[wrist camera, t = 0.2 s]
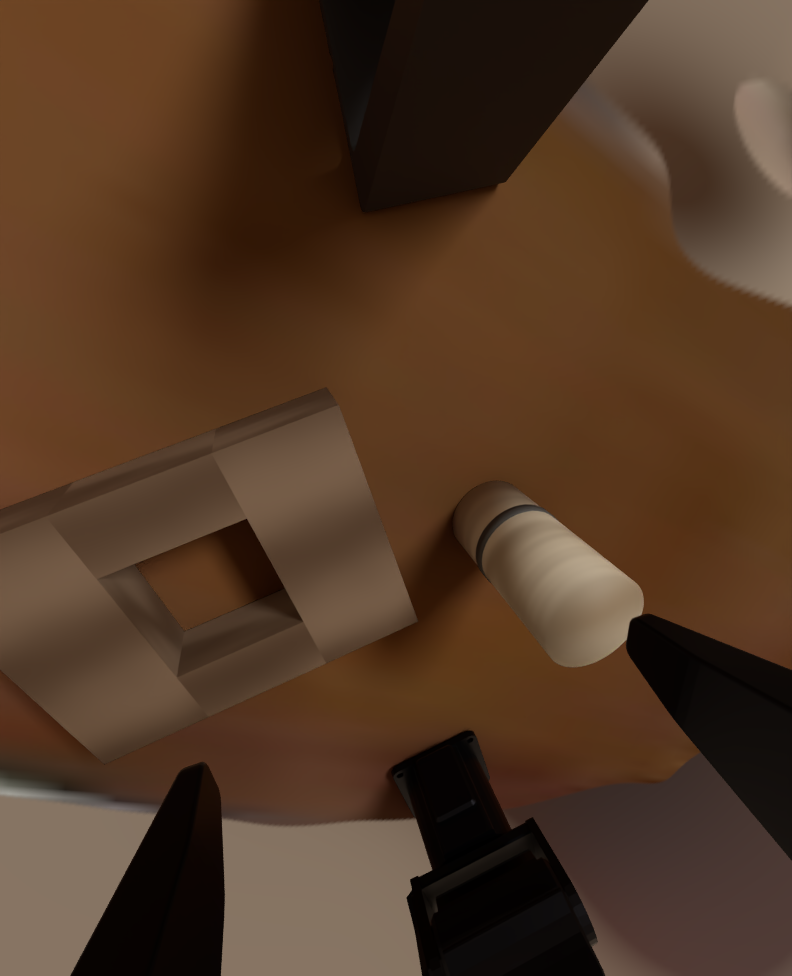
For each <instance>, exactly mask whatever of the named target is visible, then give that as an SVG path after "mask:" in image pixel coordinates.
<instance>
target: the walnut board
mask: <svg viewBox="0 0 792 976" xmlns="http://www.w3.org/2000/svg"><path fill="white" fill-rule="evenodd" d="M245 519H248V521H249V523H250V525H251V527H252V529H253V530H254V532H255V534H256V536H257V538H258V540H259V541H260V543H261V545H262V547H263V549H264V551H265V552H266V554H267V556H268V558H269V560H270V561H271V563H272V565H273V567H274V569H275V571H276V572H277V574H278V576H279V578H280V580H281V582H282V583H283V585H284V587H285V589H283V590H280V591H278V592H276V593H273V594H271V595H269V596H266V597H264V598H262V599H259V600H257V601H255V602H252V603H250V604H248V605H245V606H243V607H241V608H238V609H236V610H234V611H231V612H229V613H227V614H224V615H222V616H220V617H217V618H215V619H213V620H210V621H208V622H206V623H203V624H201V625H199V626H196V627H194V628H192V629H189V630H187V631H185V632H184V631H183V629H182V628H181V627H180V625H179V624H178V622H177V621H176V620H175V618H174V617H173V616H172V614H171V613H170V612H169V610H168V609H167V608H166V606H165V605H164V604H163V602H162V601H161V600H160V598H159V597H158V596H157V594H156V593H155V592H154V590H153V589H152V587H151V586H150V585H149V583H148V582H147V581H146V579H145V578H144V577H143V575H142V574H141V573H140V571H139V570H138V569H137V567H136V566H135V565H134V564H136V563H138V562H141V561H143V560H146V559H148V558H151V557H153V556H156V555H158V554H160V553H163V552H165V551H168V550H170V549H173V548H175V547H178V546H180V545H183V544H185V543H188V542H190V541H193V540H195V539H198V538H200V537H203V536H205V535H207V534H210V533H212V532H215V531H217V530H220V529H222V528H225V527H227V526H230V525H232V524H235V523H237V522H240V521H242V520H245ZM416 622H418V619H417V617H416V614H415V611H414V609H413V606H412V603H411V600H410V598H409V595H408V592H407V590H406V587H405V584H404V581H403V579H402V576H401V573H400V570H399V568H398V565H397V562H396V560H395V557H394V554H393V551H392V549H391V546H390V543H389V541H388V538H387V535H386V532H385V530H384V527H383V524H382V521H381V519H380V516H379V513H378V511H377V508H376V505H375V502H374V500H373V497H372V494H371V492H370V489H369V486H368V483H367V481H366V478H365V475H364V473H363V470H362V467H361V464H360V462H359V459H358V456H357V453H356V451H355V448H354V445H353V443H352V440H351V437H350V434H349V432H348V429H347V426H346V424H345V421H344V418H343V415H342V413H341V410H340V407H339V405H338V403H337V402H336V400H335V399H334V398H333V396H332V395H331V393H330V392H329V391H328V389H327V388H324V389H321V390H318V391H316V392H313V393H310V394H308V395H305V396H302V397H300V398H297V399H294V400H292V401H289V402H286V403H284V404H281V405H278V406H276V407H273V408H270V409H268V410H265V411H262V412H260V413H257V414H254V415H252V416H249V417H246V418H244V419H241V420H238V421H236V422H233V423H230V424H228V425H225V426H222V427H220V428H217V429H214V430H212V431H209V432H206V433H204V434H201V435H198V436H196V437H193V438H190V439H188V440H185V441H182V442H180V443H177V444H174V445H172V446H169V447H166V448H164V449H161V450H158V451H156V452H153V453H150V454H148V455H145V456H142V457H140V458H137V459H134V460H132V461H129V462H126V463H124V464H121V465H118V466H116V467H113V468H110V469H108V470H105V471H102V472H100V473H97V474H94V475H92V476H89V477H86V478H84V479H81V480H78V481H76V482H73V483H70V484H68V485H65V486H62V487H60V488H57V489H54V490H52V491H49V492H46V493H44V494H41V495H38V496H36V497H33V498H30V499H28V500H25V501H22V502H20V503H17V504H14V505H12V506H9V507H6V508H4V509H1V510H0V670H1V671H2V672H3V673H4V674H5V675H6V676H8V677H9V678H10V679H11V680H12V681H13V682H14V683H15V684H16V685H17V686H19V687H20V688H21V689H22V690H23V691H24V692H25V693H26V694H27V695H28V696H30V697H31V698H32V699H33V700H34V701H35V702H36V703H37V704H38V705H39V706H41V707H42V708H43V709H44V710H45V711H46V712H47V713H48V714H49V715H50V716H52V717H53V718H54V719H55V720H56V721H57V722H58V723H59V724H60V725H61V726H63V727H64V728H65V729H66V730H67V731H68V732H69V733H70V734H71V735H72V736H74V737H75V738H76V739H77V740H78V741H79V742H80V743H81V744H82V745H83V746H85V747H86V748H87V749H88V750H89V751H90V752H91V753H92V754H93V755H94V756H96V757H97V758H98V759H99V760H100V761H101V762H102V763H103V764H104V765H105V764H107V763H109V762H111V761H113V760H116V759H118V758H120V757H122V756H124V755H127V754H129V753H131V752H133V751H135V750H137V749H140V748H142V747H144V746H146V745H148V744H151V743H153V742H155V741H157V740H159V739H162V738H164V737H166V736H168V735H170V734H173V733H175V732H177V731H179V730H181V729H184V728H186V727H188V726H190V725H192V724H194V723H197V722H199V721H201V720H203V719H205V718H208V717H210V716H212V715H214V714H216V713H219V712H221V711H223V710H225V709H227V708H230V707H232V706H234V705H236V704H238V703H240V702H243V701H245V700H247V699H249V698H251V697H254V696H256V695H258V694H260V693H262V692H265V691H267V690H269V689H271V688H273V687H276V686H278V685H280V684H282V683H284V682H287V681H289V680H291V679H293V678H295V677H297V676H300V675H302V674H304V673H306V672H308V671H311V670H313V669H315V668H317V667H319V666H322V665H324V664H326V663H328V662H330V661H333V660H335V659H337V658H339V657H341V656H343V655H346V654H348V653H350V652H352V651H354V650H357V649H359V648H361V647H363V646H365V645H368V644H370V643H372V642H374V641H376V640H379V639H381V638H383V637H385V636H387V635H390V634H392V633H394V632H396V631H398V630H400V629H403V628H405V627H407V626H409V625H411V624H414V623H416Z"/></svg>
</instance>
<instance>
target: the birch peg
mask: <svg viewBox="0 0 792 976" xmlns="http://www.w3.org/2000/svg"><path fill="white" fill-rule="evenodd" d="M452 525H453V532H454V535H455V537H456V539H457V540H458V542H459V543H460V544H461V545H462V547H463V548H464V549H465V550H466V552H467V553H468V554H469V555H470V557H471V558H472V559H473V560H474V562H475V563H476V564H477V565H478V567H479V569H480V571H481V572H482V573H483V575H484V576H485V577H486V578H487V580H488V581H489V582H491V583H492V584H493V586H494V587H495V588H496V589H497V591H498V592H499V593H500V594H501V596H502V597H503V598H504V599H505V601H506V602H507V603H508V605H509V606H510V607H511V608H512V610H513V611H514V612H515V613H516V615H517V616H518V617H519V618H520V620H521V621H522V622H523V623H524V625H525V626H526V627H527V628H528V630H529V631H530V632H531V634H532V635H533V636H534V637H535V639H536V640H537V641H538V642H539V644H540V645H541V646H542V647H543V649H544V650H545V651H546V652H547V654H548V655H549V656H550V657H551V659H552V660H553V661H554V662H556V663H557V664H559V665H562V666H565V667H581V666H585V665H589V664H592V663H594V662H597V661H599V660H601V659H603V658H604V657H606V656H608V655H609V654H611V653H612V652H613V651H615V650H616V649H617V648H618V647H619V646H620V645H622V644H623V642H624V641H625V640H626V639H627V634H628V628H629V623H630V620H631V619H632V618H634V617H637V616H640V615H641V614H642V610H643V604H644V599H643V594H642V591H641V589H640V587H639V586H638V585H637V583H635V582H634V581H633V580H632V579H630V578H629V577H628V576H626V575H625V574H624V573H623V572H621V571H620V570H619V569H618V568H616V567H615V566H614V565H613V564H611V563H610V562H609V561H608V560H606V559H605V558H604V557H603V556H601V555H600V554H599V553H598V552H596V551H595V550H594V549H593V548H591V547H590V546H589V545H587V544H586V543H585V542H584V541H582V540H581V539H580V538H579V537H577V536H576V535H575V534H574V533H572V532H571V531H570V530H569V529H567V528H566V527H565V526H564V525H562V524H561V523H560V522H559V521H558V520H557V519H556V518H555V517H554V516H553V515H551V514H550V513H549V512H548V511H546V510H545V509H544V508H542V507H540V506H538V505H537V504H536V503H535V502H533V501H532V500H531V499H530V498H528V497H527V496H526V495H525V494H523V493H522V492H521V491H520V490H518V489H517V488H516V487H514V486H513V485H512V484H510V483H507V482H504V481H490V482H486V483H483V484H480V485H478V486H476V487H475V488H473V489H472V490H471V491H469V492H468V493H467V494H466V495H465V496H464V497H463V498H462V500H461V501H460V502H459V504H458V506H457V508H456V510H455V513H454V516H453V523H452Z"/></svg>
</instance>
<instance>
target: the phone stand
mask: <svg viewBox="0 0 792 976" xmlns="http://www.w3.org/2000/svg"><path fill="white" fill-rule="evenodd" d="M319 2H320V7H321V12H322V17H323V22H324V27H325V32H326V37H327V42H328V47H329V52H330V55H331V57H332V60H333V72H334V77H335V82H336V87H337V92H338V97H339V102H340V107H341V112H342V117H343V122H344V126H345V131H346V136H347V141H348V146H349V151H350V156H351V161H352V166H353V171H354V176H355V181H356V186H357V191H358V196H359V201H360V206H361V209H362V211H363V212H369V211H373V210H378V209H383V208H387V207H392V206H397V205H401V204H406V203H411V202H415V201H420V200H425V199H429V198H434V197H439V196H443V195H448V194H453V193H457V192H462V191H467V190H471V189H476V188H481V187H485V186H490V185H495V184H499V183H504V182H506V181H507V180H508V178H509V177H510V176H511V174H512V173H513V172H514V171H515V169H516V168H517V167H518V166H519V164H520V163H521V162H522V160H523V159H524V158H525V157H526V155H527V154H528V153H529V152H530V150H531V149H532V148H533V146H534V145H535V144H536V143H537V141H538V140H539V139H540V138H541V136H542V135H543V134H544V133H545V131H546V130H547V129H548V127H549V126H550V125H551V124H552V122H553V121H554V120H555V119H556V117H557V116H558V115H559V113H560V112H561V111H562V110H563V108H564V107H565V106H566V105H567V103H568V102H569V101H570V99H571V98H572V97H573V96H574V94H575V93H576V92H577V91H578V89H579V88H580V87H581V85H582V84H583V83H584V82H585V80H586V79H587V78H588V77H589V75H590V74H591V73H592V72H593V70H594V69H595V68H596V66H597V65H598V64H599V63H600V61H601V60H602V59H603V57H604V56H605V55H606V54H607V52H608V51H609V50H610V49H611V47H612V46H613V45H614V44H615V42H616V41H617V40H618V38H619V37H620V36H621V35H622V33H623V32H624V31H625V29H626V28H627V27H628V26H629V24H630V23H631V22H632V21H633V19H634V18H635V17H636V16H637V14H638V13H639V12H640V11H641V9H642V8H643V7H644V5H645V4H646V3H647V2H648V0H319Z"/></svg>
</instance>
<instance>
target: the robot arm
mask: <svg viewBox="0 0 792 976" xmlns="http://www.w3.org/2000/svg"><path fill="white" fill-rule="evenodd" d="M626 649H627V652H628V654H629V656H630V658H631V659H632V661H633V662H634V664H635V665H636V666H637V668H638V669H639V671H640V672H641V674H642V675H643V676H644V678H645V679H646V681H647V682H648V684H649V685H650V686H651V688H652V689H653V691H654V692H655V694H656V695H657V696H658V698H659V699H660V701H661V702H662V704H663V705H664V706H665V708H666V709H667V711H668V712H669V713H670V715H671V716H672V717H673V719H674V720H675V721H676V723H677V724H678V725H679V726H680V728H681V729H682V730H683V731H684V732H685V734H686V735H687V736H688V737H689V738H690V740H691V741H692V742H693V743H694V744H695V746H696V747H697V748H698V749H699V750H700V752H701V753H702V754H703V755H704V756H705V758H706V759H707V760H708V761H709V762H710V764H711V765H712V766H713V767H714V768H715V769H716V771H717V772H718V773H719V774H720V776H721V777H722V778H723V779H724V780H725V781H726V783H727V784H728V785H729V786H730V787H731V789H732V790H733V791H734V792H735V793H736V795H737V796H738V797H739V798H740V799H741V801H742V802H743V803H744V804H745V805H746V807H747V808H748V809H749V810H750V811H751V813H752V814H753V815H754V816H755V817H756V819H757V820H758V821H759V822H760V823H761V824H762V826H763V827H764V828H765V829H766V830H767V832H768V833H769V834H770V835H771V836H772V838H773V839H774V840H775V841H776V842H777V844H778V845H779V846H780V847H781V848H782V849H783V851H784V852H785V853H786V854H787V855H788V857H789V858H790V859H791V860H792V670H790V669H788V668H785V667H783V666H780V665H778V664H775V663H773V662H770V661H768V660H765V659H763V658H760V657H758V656H755V655H753V654H750V653H748V652H745V651H743V650H740V649H738V648H735V647H733V646H730V645H727V644H725V643H722V642H720V641H717V640H715V639H712V638H710V637H707V636H705V635H702V634H700V633H697V632H695V631H692V630H690V629H687V628H685V627H682V626H680V625H677V624H675V623H672V622H670V621H667V620H665V619H662V618H660V617H657V616H655V615H652V614H643V615H640V616H637V617H634V618H632V619H631V620H630V623H629V628H628V634H627V641H626ZM392 775H393V778H394V780H395V782H396V784H397V786H398V788H399V790H400V792H401V794H402V795H403V797H404V799H405V801H406V803H407V805H408V807H409V808H410V810H411V812H412V814H413V816H414V817H416V820H417V823H418V826H419V829H420V832H421V835H422V839H423V842H424V845H425V848H426V851H427V855H428V858H429V861H430V864H431V867H432V871H430V872H428V873H426V874H424V875H422V876H420V877H418V876H416V877H414V878H412V879H410V882H411V886H412V891H411V892H410V894H409V895H408V896H407V902H408V906H409V909H410V913H411V917H412V921H413V925H414V930H415V935H416V940H417V947H418V952H419V959H420V965H421V970H422V976H605V974H604V971H603V969H602V967H601V965H600V963H599V961H598V959H597V957H596V955H595V953H594V951H593V949H592V946H594V945H595V944H597V942H598V941H597V937H596V934H595V931H594V928H593V926H592V923H591V921H590V919H589V917H588V914H587V912H586V910H585V908H584V906H583V903H582V901H581V899H580V898H579V896H578V893H577V892H576V890H575V888H574V886H573V884H572V882H571V880H570V879H569V877H568V876H567V874H566V872H565V870H564V869H563V867H562V865H561V864H560V862H559V860H558V859H557V857H556V855H555V854H554V852H553V850H552V849H551V847H550V845H549V844H548V842H547V840H546V839H545V837H544V835H543V834H542V832H541V830H540V829H539V827H538V825H537V824H536V822H535V820H534V819H533V817H532V818H530V819H528V820H526V821H525V823H524V824H522V825H520V826H518V827H516V828H514V829H511V827H510V825H509V823H508V821H507V819H506V817H505V815H504V812H503V810H502V808H501V806H500V804H499V802H498V800H497V798H496V796H495V794H494V792H493V789H492V787H491V785H490V783H489V779H490V776H489V773H488V770H487V767H486V764H485V761H484V758H483V755H482V753H481V750H480V747H479V744H478V741H477V738H476V736H475V734H474V732H473V731H467V732H465V733H463V734H461V735H459V736H457V737H455V738H453V739H451V740H449V741H447V742H445V743H443V744H441V745H439V746H437V747H435V748H433V749H431V750H429V751H427V752H425V753H423V754H421V755H419V756H417V757H415V758H413V759H410V760H408V761H406V762H404V763H402V764H400V765H398V766H396V767H395V768H394V769H393V770H392ZM224 902H225V890H224V863H223V839H222V815H221V797H220V792H219V788H218V786H217V784H216V782H215V779H214V777H213V775H212V773H211V771H210V769H209V767H208V765H207V764H206V763H205V762H200V763H197V764H194V765H191V766H188V767H185V768H183V769H182V770H181V771H180V772H179V773H178V775H177V777H176V779H175V781H174V782H173V784H172V786H171V788H170V790H169V792H168V794H167V795H166V797H165V799H164V801H163V803H162V805H161V807H160V809H159V810H158V812H157V814H156V816H155V818H154V820H153V822H152V824H151V826H150V827H149V829H148V831H147V833H146V835H145V837H144V839H143V840H142V842H141V844H140V846H139V848H138V850H137V852H136V854H135V856H134V857H133V859H132V861H131V863H130V865H129V867H128V869H127V870H126V872H125V874H124V876H123V878H122V880H121V882H120V884H119V885H118V887H117V889H116V891H115V893H114V895H113V897H112V898H111V900H110V902H109V904H108V906H107V908H106V910H105V912H104V913H103V916H102V917H101V919H100V921H99V923H98V925H97V927H96V928H95V930H94V932H93V934H92V936H91V938H90V940H89V942H88V943H87V945H86V947H85V949H84V951H83V953H82V955H81V957H80V958H79V960H78V962H77V964H76V966H75V968H74V970H73V972H72V973H71V976H221V962H222V945H223V928H224V906H225V905H224V904H225V903H224Z"/></svg>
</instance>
